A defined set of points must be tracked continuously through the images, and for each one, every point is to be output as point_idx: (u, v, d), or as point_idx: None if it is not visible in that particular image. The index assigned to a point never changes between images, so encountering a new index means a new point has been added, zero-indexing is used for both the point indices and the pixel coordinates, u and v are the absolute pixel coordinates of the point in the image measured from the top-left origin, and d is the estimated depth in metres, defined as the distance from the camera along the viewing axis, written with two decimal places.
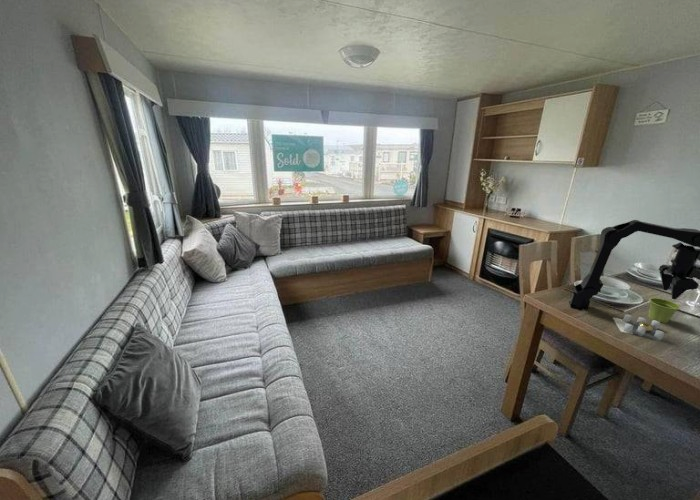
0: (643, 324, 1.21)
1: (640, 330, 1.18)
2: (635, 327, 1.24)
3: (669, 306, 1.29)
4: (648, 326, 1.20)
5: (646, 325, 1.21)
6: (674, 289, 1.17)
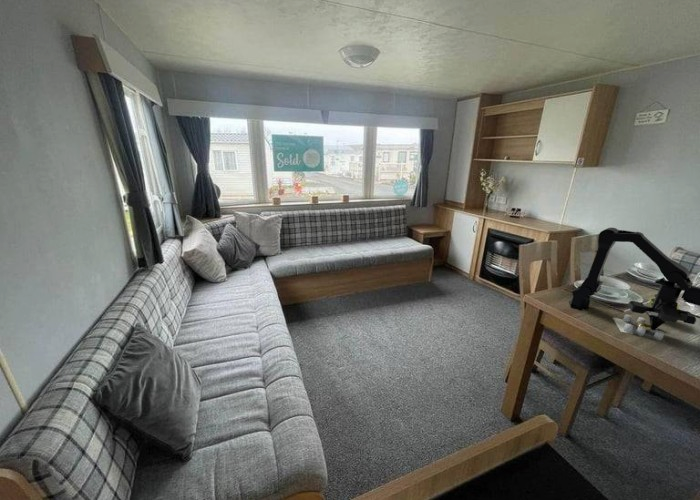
0: (641, 324, 1.22)
1: (640, 330, 1.18)
2: (635, 327, 1.24)
3: None
4: (646, 326, 1.20)
5: (644, 325, 1.21)
6: (649, 316, 1.21)
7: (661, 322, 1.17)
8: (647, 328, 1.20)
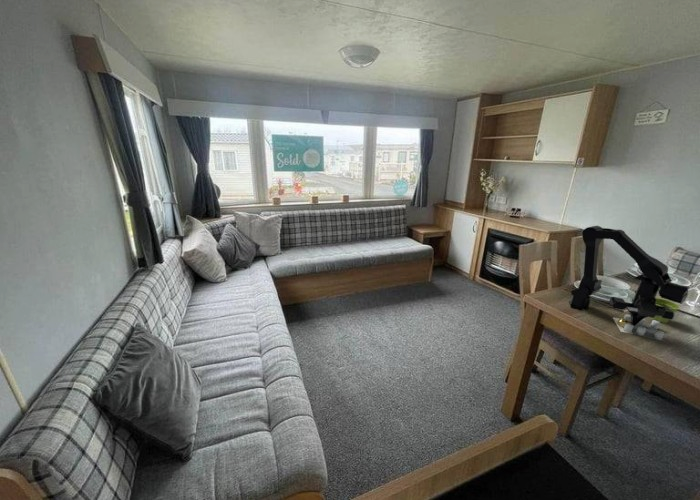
0: (622, 320, 1.24)
1: (640, 330, 1.18)
2: (635, 327, 1.24)
3: (669, 306, 1.29)
4: (627, 321, 1.23)
5: (625, 321, 1.23)
6: (630, 312, 1.24)
7: (641, 318, 1.20)
8: None
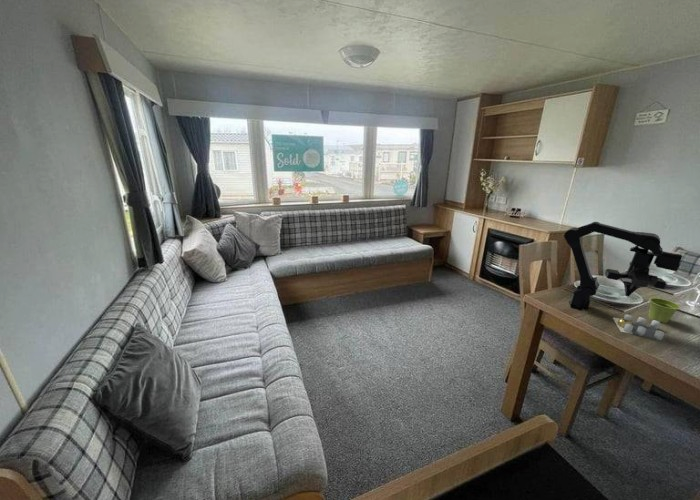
0: (623, 320, 1.24)
1: (640, 330, 1.18)
2: (635, 327, 1.24)
3: (669, 306, 1.29)
4: (627, 321, 1.23)
5: (625, 321, 1.23)
6: (624, 283, 1.27)
7: (634, 288, 1.23)
8: None
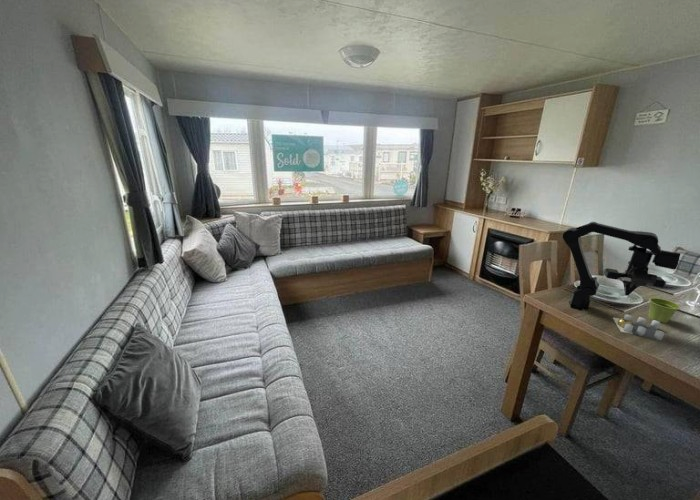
0: (622, 320, 1.24)
1: (640, 330, 1.18)
2: (635, 327, 1.24)
3: (669, 306, 1.29)
4: (627, 321, 1.23)
5: (625, 320, 1.24)
6: (623, 283, 1.27)
7: (634, 287, 1.24)
8: None
